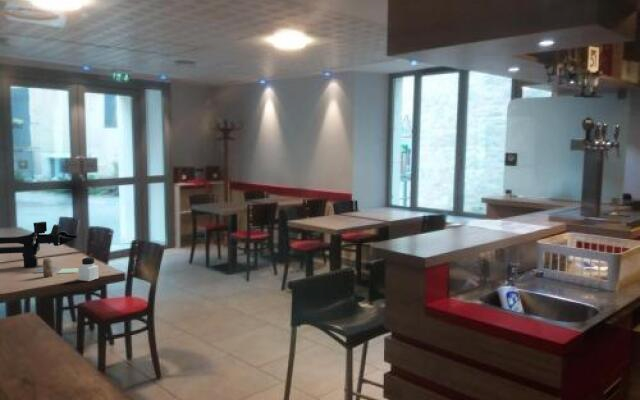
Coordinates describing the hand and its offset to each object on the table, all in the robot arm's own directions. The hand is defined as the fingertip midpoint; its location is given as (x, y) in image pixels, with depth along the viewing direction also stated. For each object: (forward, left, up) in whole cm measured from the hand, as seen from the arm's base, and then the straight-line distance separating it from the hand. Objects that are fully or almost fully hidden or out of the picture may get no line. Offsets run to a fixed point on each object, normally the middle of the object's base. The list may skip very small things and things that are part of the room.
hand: (75, 237), depth 306 cm
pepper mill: (-8, -29, -17) cm, 34 cm away
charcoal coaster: (-13, -14, -16) cm, 26 cm away
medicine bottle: (+15, -40, -17) cm, 46 cm away
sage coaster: (0, -18, -16) cm, 25 cm away
